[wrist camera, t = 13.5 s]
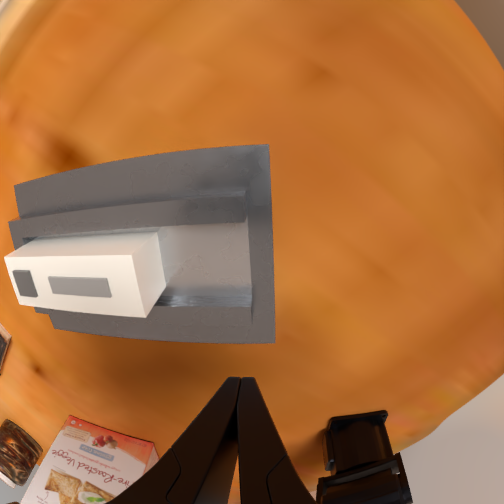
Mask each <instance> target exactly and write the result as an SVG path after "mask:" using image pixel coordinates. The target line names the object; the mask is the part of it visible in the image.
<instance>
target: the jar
mask: <svg viewBox="0 0 504 504" xmlns="http://www.w3.org/2000/svg"><path fill="white" fill-rule="evenodd" d="M41 453H42V448H41V447H40V446H39V445H38V443H37V442H36V441H35V440H34V439H33V438H32V437H31V436H29V435H28V434H27V433H26V432H25V431H24V430H22V429H21V428H20V427H19V426H17V425H16V424H14V423H13V422H11V421H9V420H7V419H6V420H5V421H4V422H3V424H2V425H1V427H0V479H1V480H2V481H3V482H5V483H6V484H7V485H9V486H10V487H12V488H13V489H14V488H15V486H16V484H17V485H19V486H23V485H24V484H25V483H26V481H27V479H28V477H29V475H30V474H31V472H32V470H33V468H34V466H35V464H36V463H37V461H38V459H39V457H40V455H41Z"/></svg>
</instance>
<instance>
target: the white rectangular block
mask: <svg viewBox="0 0 504 504" xmlns="http://www.w3.org/2000/svg"><path fill="white" fill-rule="evenodd" d="M4 259H5V262H6V266H7V269H8V272H9V275H10V278H11V281H12V284H13V287H14V290H15V293H16V296H17V298H18V301H19V304H21V305H27V306H34V307H41V308H49V309H57V310H65V311H74V312H83V313H93V314H103V315H115V316H128V317H142V318H146V317H147V315H148V314H149V312H150V311H151V309H152V307H153V306H154V304H155V303H156V301H157V300H158V298H159V297H160V295H161V294H162V292H163V291H164V289H165V287H166V282H165V277H164V271H163V266H162V260H161V254H160V248H159V241H158V234H157V232H144V233H123V234H105V235H87V236H71V237H56V238H42V239H34V240H32V241H30V242H29V243H27V244H25V245H23V246H22V247H20V248H18V249H17V250H15V251H13V252H12V253H10V254H8V255H7V256H5V257H4Z"/></svg>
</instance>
